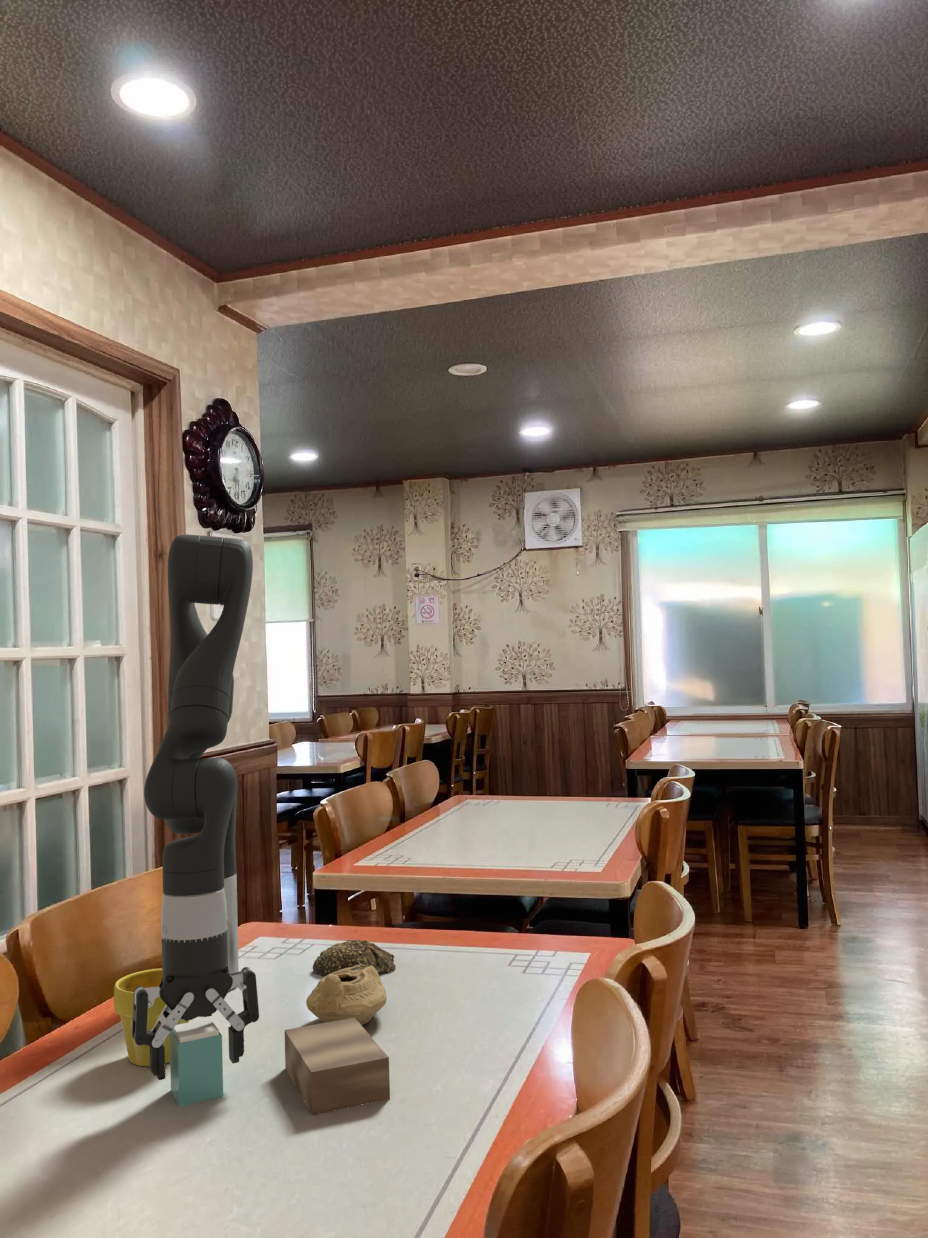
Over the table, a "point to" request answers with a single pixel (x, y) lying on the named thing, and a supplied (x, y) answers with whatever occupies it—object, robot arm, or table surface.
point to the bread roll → (353, 957)
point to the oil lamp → (348, 995)
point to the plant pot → (125, 1011)
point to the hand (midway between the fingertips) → (197, 1069)
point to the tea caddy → (196, 1062)
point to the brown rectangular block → (336, 1065)
